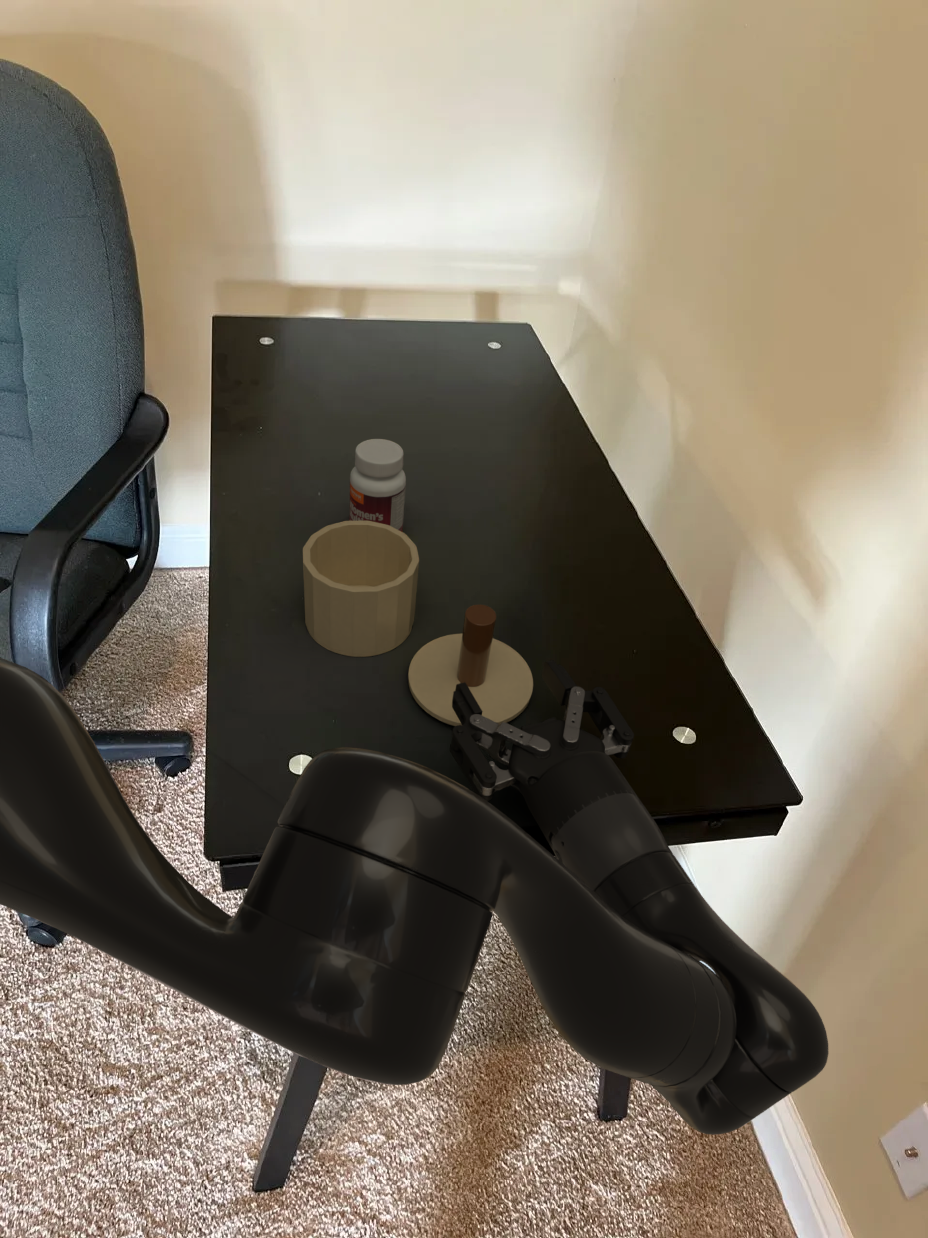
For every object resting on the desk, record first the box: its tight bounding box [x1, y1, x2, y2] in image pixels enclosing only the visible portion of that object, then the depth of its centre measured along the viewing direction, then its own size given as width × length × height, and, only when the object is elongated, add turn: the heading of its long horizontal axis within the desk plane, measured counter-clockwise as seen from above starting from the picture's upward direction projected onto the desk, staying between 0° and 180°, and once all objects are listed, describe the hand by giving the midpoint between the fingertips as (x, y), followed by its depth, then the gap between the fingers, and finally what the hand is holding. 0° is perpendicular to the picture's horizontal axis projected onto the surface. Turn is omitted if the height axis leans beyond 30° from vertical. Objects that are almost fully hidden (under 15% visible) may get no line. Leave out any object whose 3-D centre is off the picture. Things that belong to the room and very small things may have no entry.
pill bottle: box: [348, 438, 407, 532], centre depth 92 cm, size 6×6×11 cm
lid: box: [407, 604, 534, 727], centre depth 77 cm, size 12×12×9 cm
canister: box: [302, 520, 420, 658], centre depth 82 cm, size 11×11×8 cm
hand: (503, 678), depth 72 cm, fingers open, 8 cm apart
